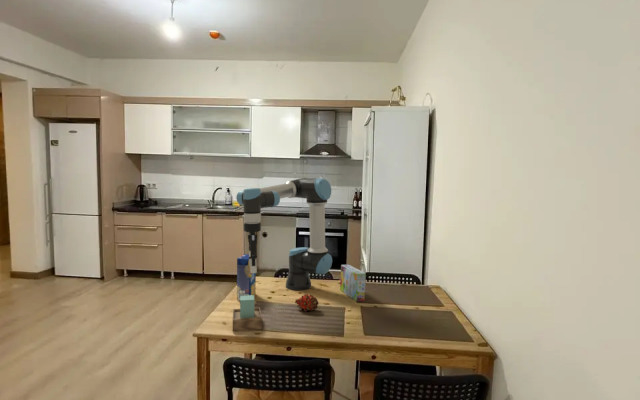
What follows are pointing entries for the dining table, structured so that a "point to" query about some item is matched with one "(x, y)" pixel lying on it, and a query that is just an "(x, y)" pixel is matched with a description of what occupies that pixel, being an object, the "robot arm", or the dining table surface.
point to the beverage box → (245, 277)
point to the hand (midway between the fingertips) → (252, 268)
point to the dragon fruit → (307, 302)
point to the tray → (247, 321)
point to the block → (247, 306)
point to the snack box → (353, 282)
